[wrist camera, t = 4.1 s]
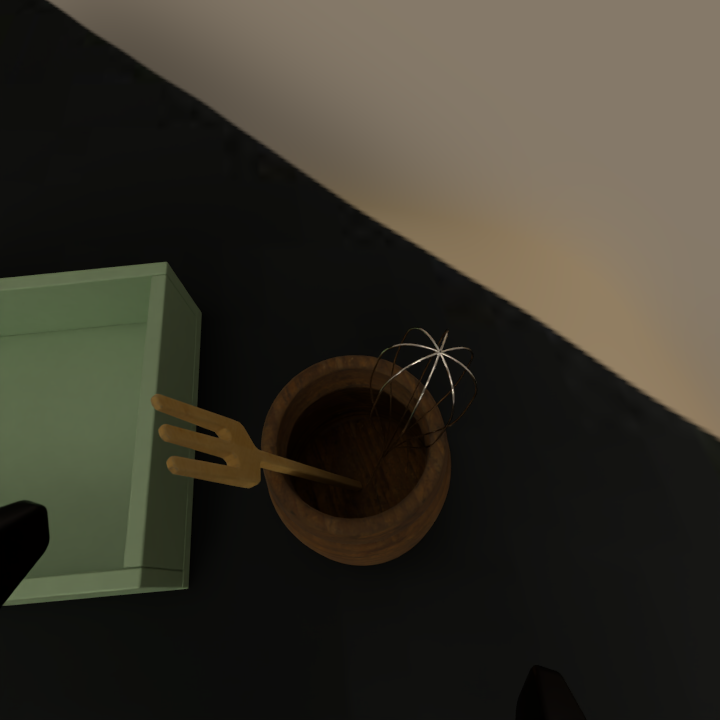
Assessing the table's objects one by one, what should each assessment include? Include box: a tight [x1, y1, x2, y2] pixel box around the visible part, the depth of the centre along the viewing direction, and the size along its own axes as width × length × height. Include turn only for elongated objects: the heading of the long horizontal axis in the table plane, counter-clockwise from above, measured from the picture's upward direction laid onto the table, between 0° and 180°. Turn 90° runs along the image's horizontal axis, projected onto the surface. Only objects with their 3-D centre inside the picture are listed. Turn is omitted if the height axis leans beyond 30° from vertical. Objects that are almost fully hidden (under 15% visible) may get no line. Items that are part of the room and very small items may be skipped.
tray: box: [0, 262, 202, 606], centre depth 20 cm, size 12×12×4 cm
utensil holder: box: [151, 327, 478, 566], centre depth 15 cm, size 6×6×12 cm
